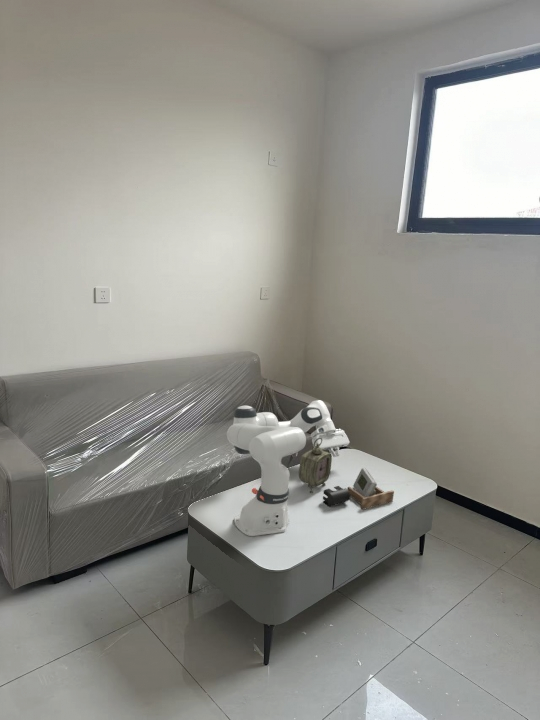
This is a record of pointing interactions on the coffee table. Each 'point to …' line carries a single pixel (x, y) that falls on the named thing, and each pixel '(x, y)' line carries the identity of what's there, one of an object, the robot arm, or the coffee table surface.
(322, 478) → the tabletop clock
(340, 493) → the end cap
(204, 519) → the coffee table surface
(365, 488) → the digital clock
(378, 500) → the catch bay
